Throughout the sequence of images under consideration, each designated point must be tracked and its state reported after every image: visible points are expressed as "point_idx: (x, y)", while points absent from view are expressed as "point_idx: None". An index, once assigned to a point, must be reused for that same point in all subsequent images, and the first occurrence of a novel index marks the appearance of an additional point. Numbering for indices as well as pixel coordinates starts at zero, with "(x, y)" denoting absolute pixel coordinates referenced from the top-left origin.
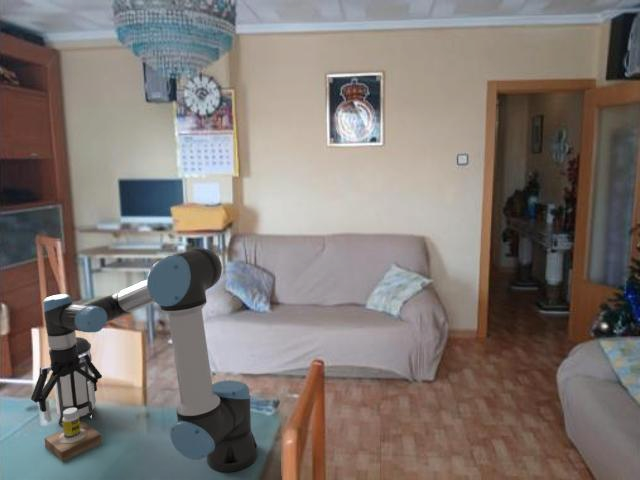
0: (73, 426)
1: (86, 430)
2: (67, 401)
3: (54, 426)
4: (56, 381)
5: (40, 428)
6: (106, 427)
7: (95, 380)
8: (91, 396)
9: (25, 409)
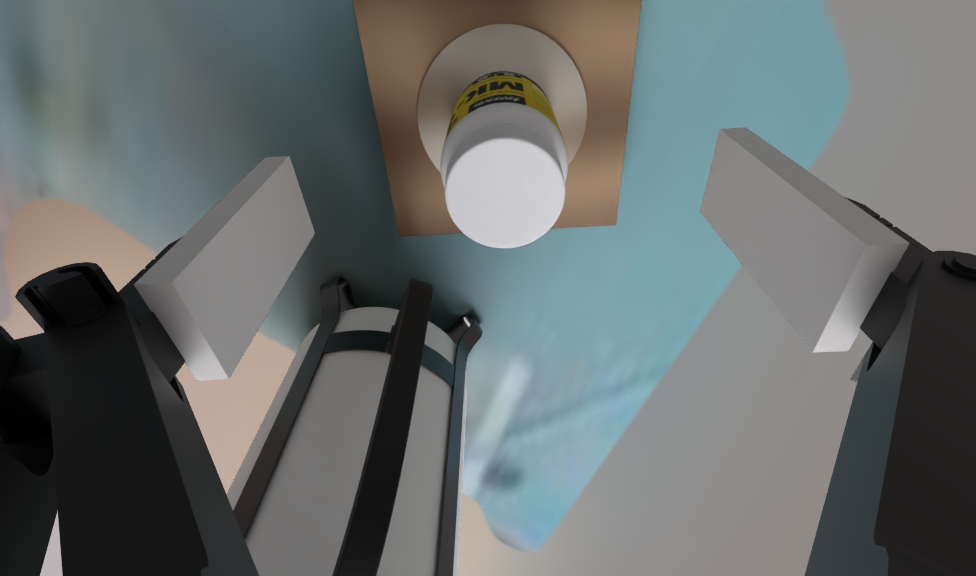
0: (511, 91)
1: (413, 120)
2: (428, 395)
3: (498, 330)
4: (891, 531)
5: (544, 352)
6: (297, 143)
7: (70, 310)
8: (273, 213)
9: (523, 483)
